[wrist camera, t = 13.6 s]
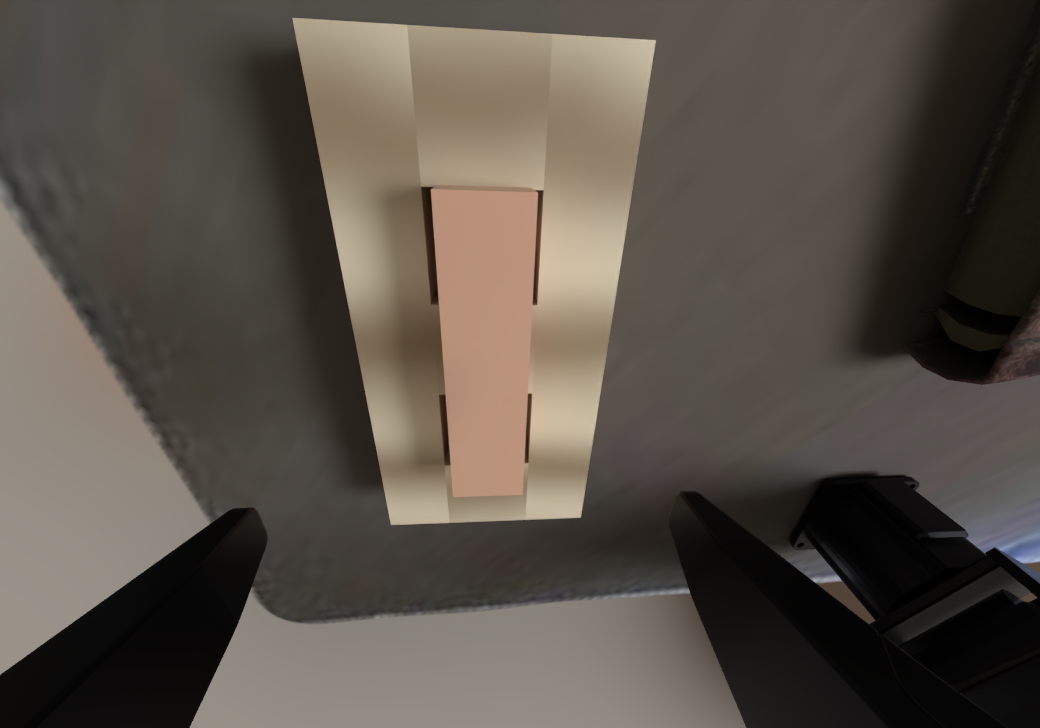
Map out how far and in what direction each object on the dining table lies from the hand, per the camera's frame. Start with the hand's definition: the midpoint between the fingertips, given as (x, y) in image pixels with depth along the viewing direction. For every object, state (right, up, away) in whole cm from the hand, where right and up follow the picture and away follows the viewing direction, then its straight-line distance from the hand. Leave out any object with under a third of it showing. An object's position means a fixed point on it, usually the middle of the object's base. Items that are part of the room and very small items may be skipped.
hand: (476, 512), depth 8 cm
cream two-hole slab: (-1, +5, +10) cm, 11 cm away
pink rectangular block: (-1, +5, +10) cm, 11 cm away
